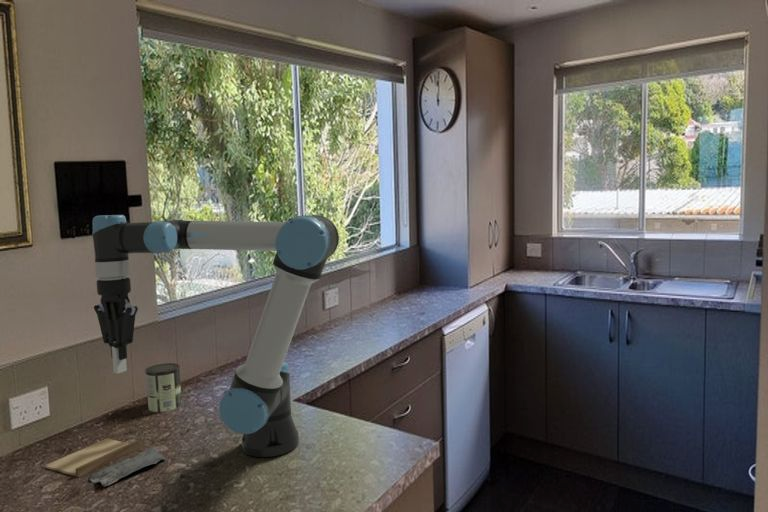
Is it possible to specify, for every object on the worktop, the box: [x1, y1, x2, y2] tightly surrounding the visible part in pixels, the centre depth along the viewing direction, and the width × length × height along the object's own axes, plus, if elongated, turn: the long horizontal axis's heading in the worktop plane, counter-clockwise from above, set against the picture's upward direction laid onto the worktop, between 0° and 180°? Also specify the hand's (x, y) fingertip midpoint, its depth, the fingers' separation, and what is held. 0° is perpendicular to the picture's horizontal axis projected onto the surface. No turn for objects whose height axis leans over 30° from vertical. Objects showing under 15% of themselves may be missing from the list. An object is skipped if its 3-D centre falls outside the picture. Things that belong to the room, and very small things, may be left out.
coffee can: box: [144, 362, 183, 413], centre depth 183 cm, size 10×10×14 cm
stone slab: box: [89, 446, 166, 488], centre depth 143 cm, size 18×2×10 cm
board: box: [44, 438, 140, 478], centre depth 150 cm, size 13×18×2 cm
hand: (120, 371), depth 143 cm, fingers closed
